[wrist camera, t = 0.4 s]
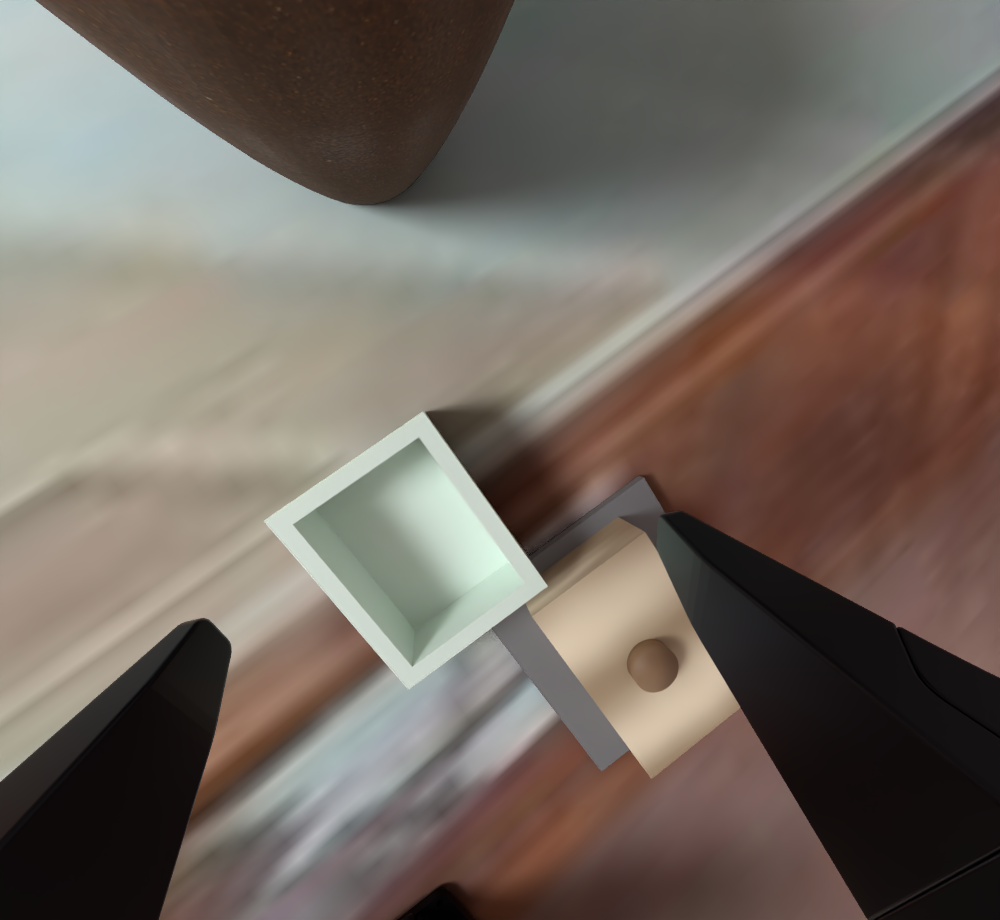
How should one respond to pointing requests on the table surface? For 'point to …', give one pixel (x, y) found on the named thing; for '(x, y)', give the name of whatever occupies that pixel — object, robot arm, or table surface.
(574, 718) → the mat
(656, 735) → the lid
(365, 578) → the dish
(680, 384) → the table surface
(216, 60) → the plant pot
